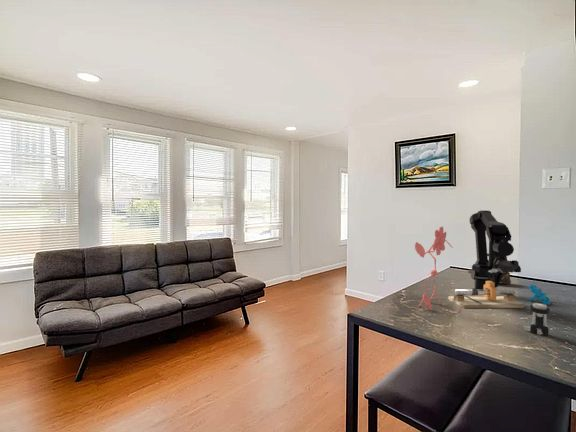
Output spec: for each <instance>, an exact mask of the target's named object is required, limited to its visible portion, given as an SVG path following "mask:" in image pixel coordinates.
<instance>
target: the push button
mask: <svg viewBox="0 0 576 432" xmlns="http://www.w3.org/2000/svg"><path fill="white" fill-rule="evenodd" d="M529 308H530V311H531V312H532V322H531V323H530V325H529V326H526V325H524V330H525V331H530V333H532V334H537V335H539V336H540V335H541V336H545V337H549V327H548V324H547V315H549V313H550V311H551V308H550V307H548V305H547V304H544V303H540V302H533V303H532V304H531V305H529Z"/></svg>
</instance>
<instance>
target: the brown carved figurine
mask: <svg viewBox="0 0 576 432" xmlns="http://www.w3.org/2000/svg"><path fill="white" fill-rule="evenodd" d="M471 272H472V269H468V270H467V273H468V274H471ZM507 273H508V274H506V275H504V276H503V277H502V279H501V280H500V283H501V284H504V285H509V284H511V283H512V280H511V276H510V275H511V272H507Z"/></svg>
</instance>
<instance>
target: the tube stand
mask: <svg viewBox="0 0 576 432" xmlns="http://www.w3.org/2000/svg"><path fill="white" fill-rule="evenodd" d="M453 290H454V291H453V295H448V296H447V300H448V299H449V302H452V303H454V305H457V306H458V307H460V308H463V309H500V308H501V309H506V308H509V309H510V308H512V309H514V308H517V309H519V308H523V309H524V303H522V302H519V301H516V297H517V296H516V295H515V294H516V290H515V289H513V288H512V289H511V288H510V289H509V288H504V289H503V288H502V289H500V288H499V289H497V288H496V300H490V299H488V298H486V297H484V296H483V295H490V289H475V288H470V289H453Z"/></svg>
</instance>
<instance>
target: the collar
mask: <svg viewBox="0 0 576 432" xmlns="http://www.w3.org/2000/svg"><path fill="white" fill-rule="evenodd" d="M484 289H490V295H482V296H484V297H486V298H488V299H490V300H496V296H497V295H496V289H497V287H495V283H494V282H492V281H486V284H485V285H484Z"/></svg>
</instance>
